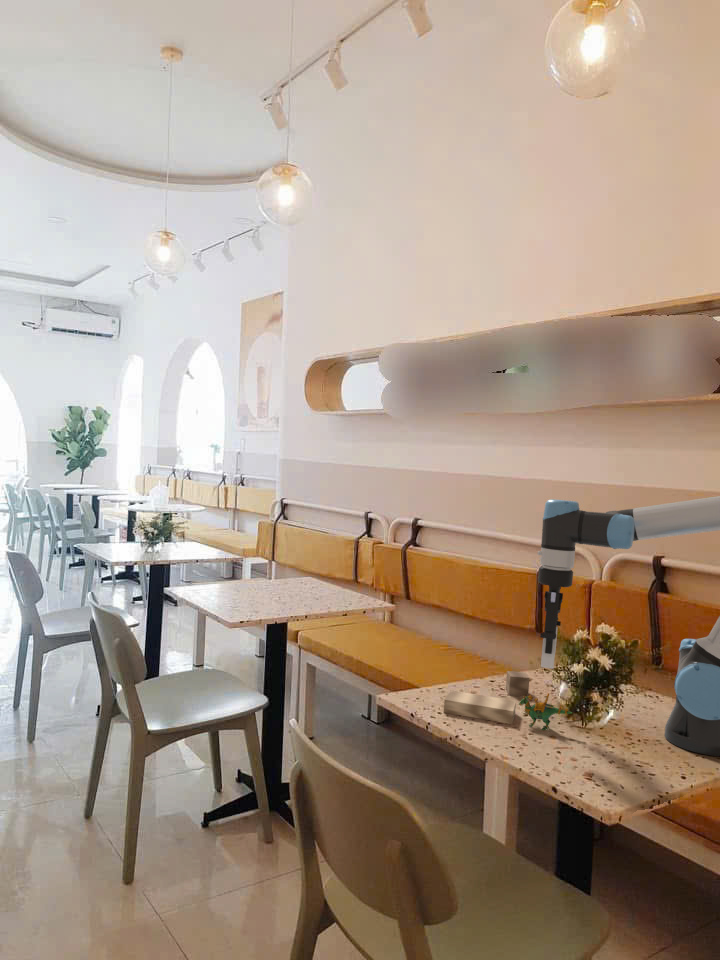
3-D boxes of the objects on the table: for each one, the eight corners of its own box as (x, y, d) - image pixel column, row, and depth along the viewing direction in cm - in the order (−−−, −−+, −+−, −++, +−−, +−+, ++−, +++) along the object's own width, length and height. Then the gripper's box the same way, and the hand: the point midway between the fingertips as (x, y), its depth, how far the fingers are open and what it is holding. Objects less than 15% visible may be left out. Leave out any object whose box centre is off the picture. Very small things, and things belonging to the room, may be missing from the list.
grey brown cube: (524, 690, 189) (525, 672, 189) (528, 696, 184) (529, 677, 184) (505, 689, 189) (507, 670, 189) (508, 695, 184) (510, 676, 184)
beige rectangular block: (515, 713, 170) (516, 700, 170) (512, 724, 163) (513, 711, 163) (449, 702, 175) (450, 690, 175) (443, 712, 167) (444, 699, 167)
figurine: (518, 720, 165) (521, 686, 165) (571, 731, 160) (574, 696, 160) (516, 724, 163) (518, 689, 162) (569, 736, 158) (572, 699, 158)
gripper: (541, 559, 174) (534, 645, 174) (536, 572, 150) (527, 671, 150) (573, 563, 172) (566, 650, 172) (573, 576, 148) (564, 677, 148)
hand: (548, 660), depth 161 cm, fingers open, 13 cm apart
